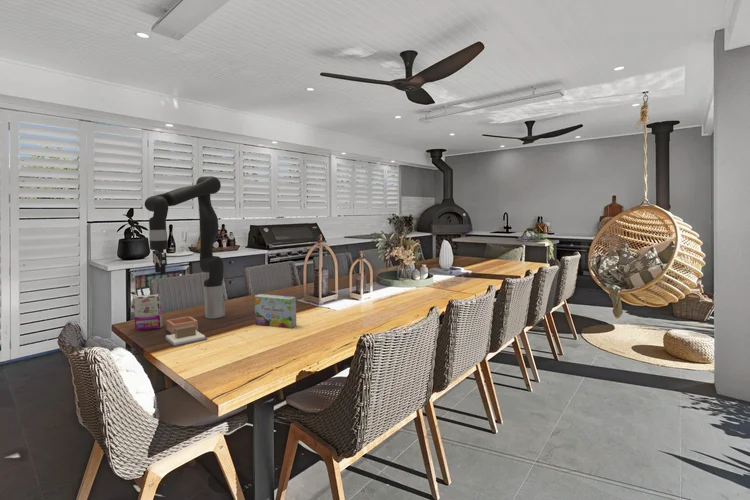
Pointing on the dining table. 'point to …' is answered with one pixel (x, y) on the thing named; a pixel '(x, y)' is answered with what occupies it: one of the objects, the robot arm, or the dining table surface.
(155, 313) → the candy bar box
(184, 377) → the dining table surface
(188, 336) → the lid
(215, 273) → the robot arm
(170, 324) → the dish
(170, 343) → the mat
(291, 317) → the snack box
